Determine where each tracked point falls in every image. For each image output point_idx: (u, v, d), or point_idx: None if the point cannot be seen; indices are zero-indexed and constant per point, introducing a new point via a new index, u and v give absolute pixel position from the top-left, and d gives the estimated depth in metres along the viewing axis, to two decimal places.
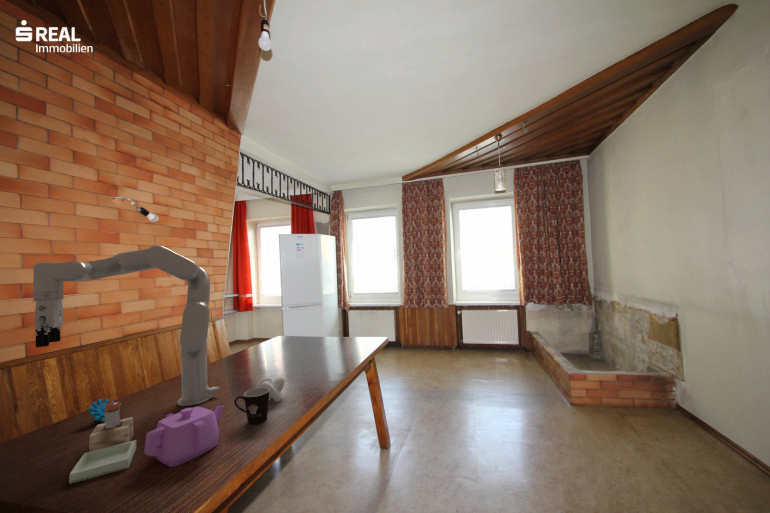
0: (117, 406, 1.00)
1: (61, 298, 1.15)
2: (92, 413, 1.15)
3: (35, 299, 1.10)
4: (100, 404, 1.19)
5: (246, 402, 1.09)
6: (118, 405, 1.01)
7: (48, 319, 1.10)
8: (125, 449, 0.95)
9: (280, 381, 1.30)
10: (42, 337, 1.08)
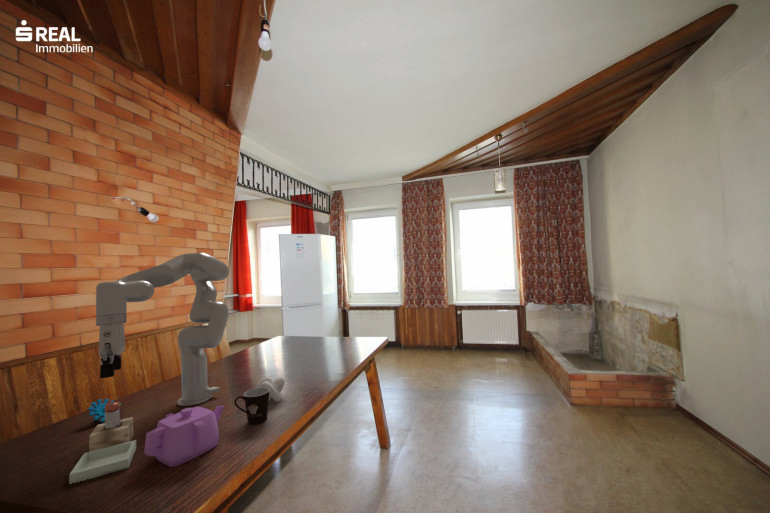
0: (117, 406, 1.00)
1: (125, 321, 1.03)
2: (91, 413, 1.15)
3: (99, 323, 0.98)
4: (100, 404, 1.19)
5: (246, 402, 1.09)
6: (118, 405, 1.01)
7: (113, 346, 0.98)
8: (125, 449, 0.95)
9: (280, 381, 1.30)
10: (107, 367, 0.96)
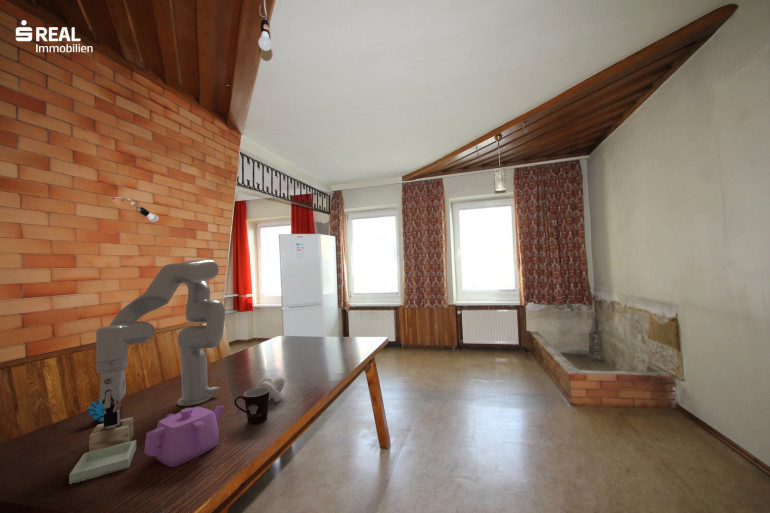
0: (117, 406, 1.00)
1: (125, 366, 1.02)
2: (91, 413, 1.15)
3: (99, 370, 0.97)
4: (99, 404, 1.20)
5: (246, 402, 1.09)
6: (118, 405, 1.01)
7: (114, 393, 0.97)
8: (125, 449, 0.95)
9: (280, 381, 1.30)
10: (111, 415, 0.98)
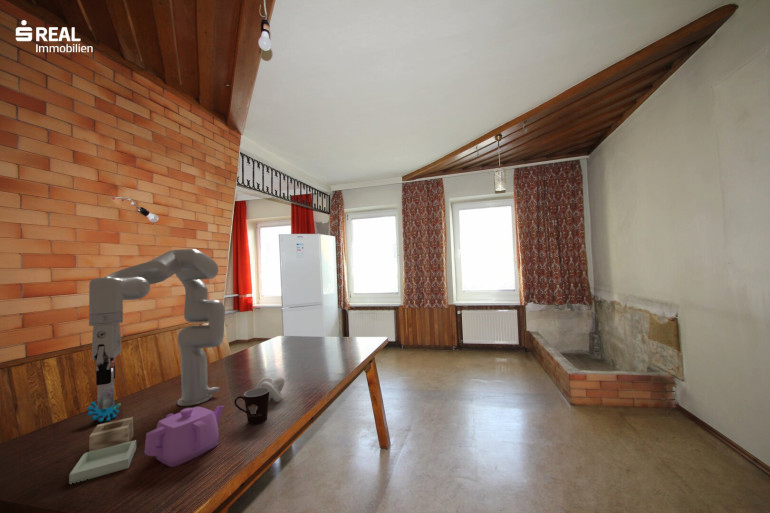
0: (111, 364, 0.92)
1: (121, 321, 0.94)
2: (90, 413, 1.15)
3: (92, 323, 0.89)
4: None
5: (246, 402, 1.09)
6: (112, 363, 0.93)
7: (107, 348, 0.89)
8: (125, 449, 0.95)
9: (280, 381, 1.30)
10: (104, 373, 0.90)
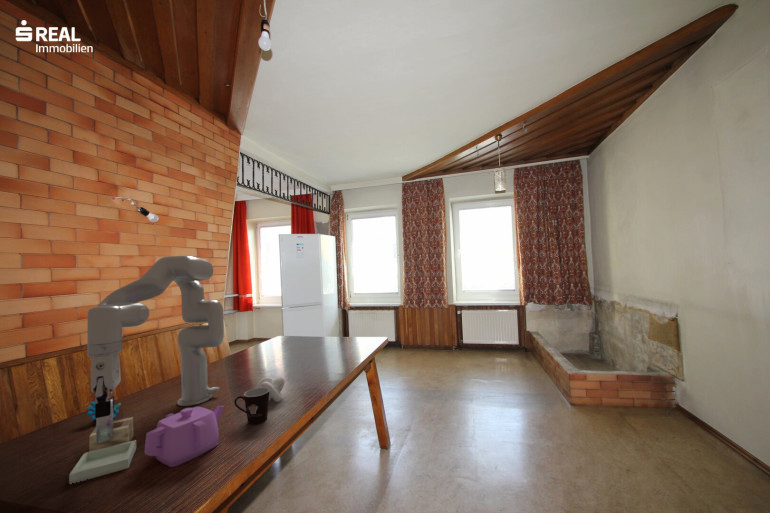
0: (110, 395, 0.90)
1: (120, 350, 0.92)
2: (89, 413, 1.15)
3: (90, 354, 0.87)
4: None
5: (246, 402, 1.09)
6: (111, 394, 0.90)
7: (106, 380, 0.87)
8: (125, 449, 0.95)
9: (280, 381, 1.30)
10: (103, 405, 0.87)
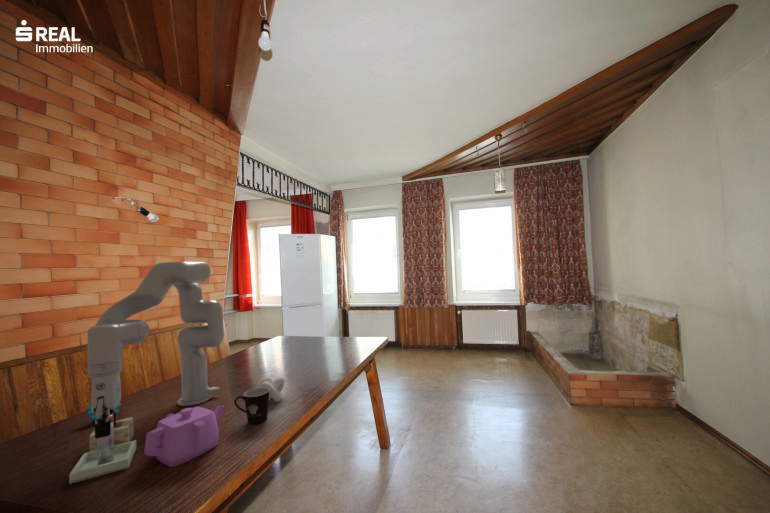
0: (111, 418, 0.90)
1: (120, 369, 0.91)
2: (89, 413, 1.15)
3: (91, 374, 0.87)
4: None
5: (246, 402, 1.09)
6: (112, 417, 0.90)
7: (107, 400, 0.87)
8: (125, 449, 0.95)
9: (280, 381, 1.30)
10: (103, 425, 0.87)
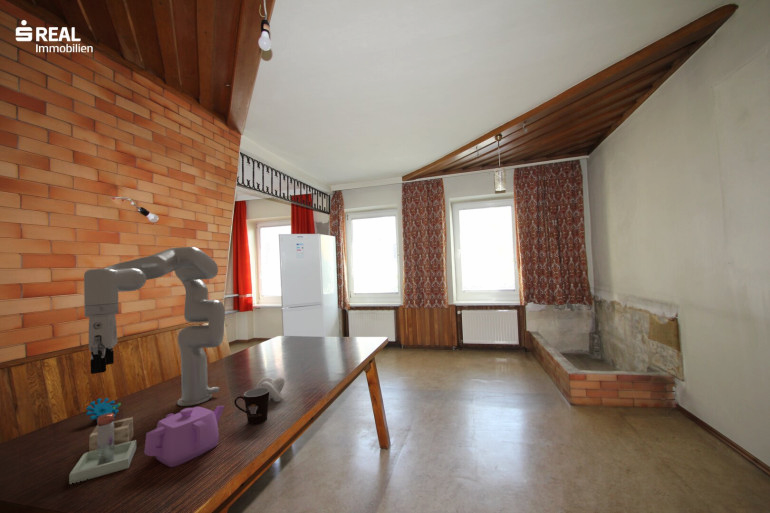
0: (112, 418, 0.90)
1: (117, 312, 0.94)
2: (88, 412, 1.15)
3: (88, 314, 0.89)
4: (99, 403, 1.20)
5: (246, 402, 1.09)
6: (112, 417, 0.90)
7: (104, 339, 0.89)
8: (125, 449, 0.95)
9: (280, 381, 1.30)
10: (98, 361, 0.88)
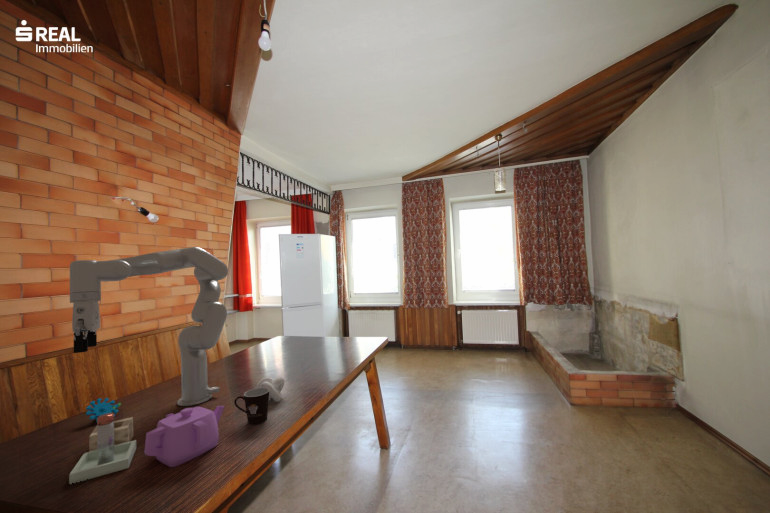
0: (111, 418, 0.90)
1: (99, 299, 1.05)
2: (88, 412, 1.16)
3: (72, 300, 1.01)
4: (99, 403, 1.20)
5: (246, 402, 1.09)
6: (112, 417, 0.90)
7: (86, 322, 1.00)
8: (125, 449, 0.95)
9: (280, 381, 1.30)
10: (81, 342, 0.99)
